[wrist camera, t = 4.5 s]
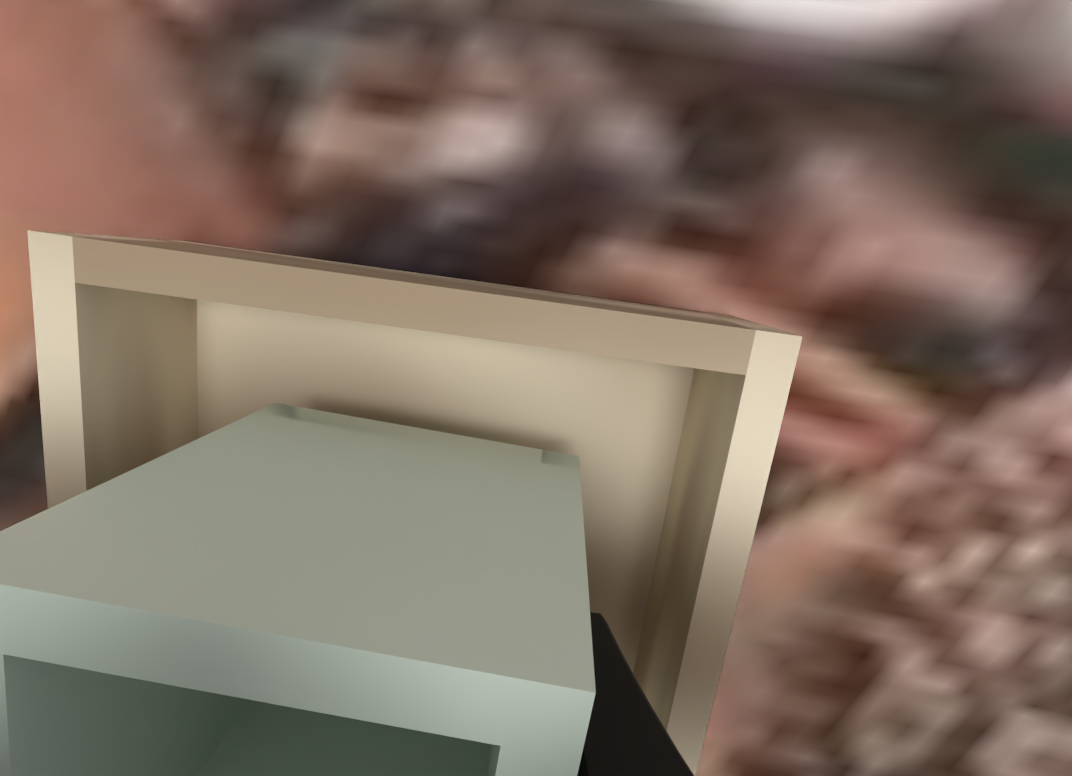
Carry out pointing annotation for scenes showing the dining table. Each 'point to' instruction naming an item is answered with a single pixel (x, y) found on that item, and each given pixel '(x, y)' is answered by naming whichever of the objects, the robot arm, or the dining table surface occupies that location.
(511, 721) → the small crate
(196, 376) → the beige wooden tray
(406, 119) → the dining table surface
